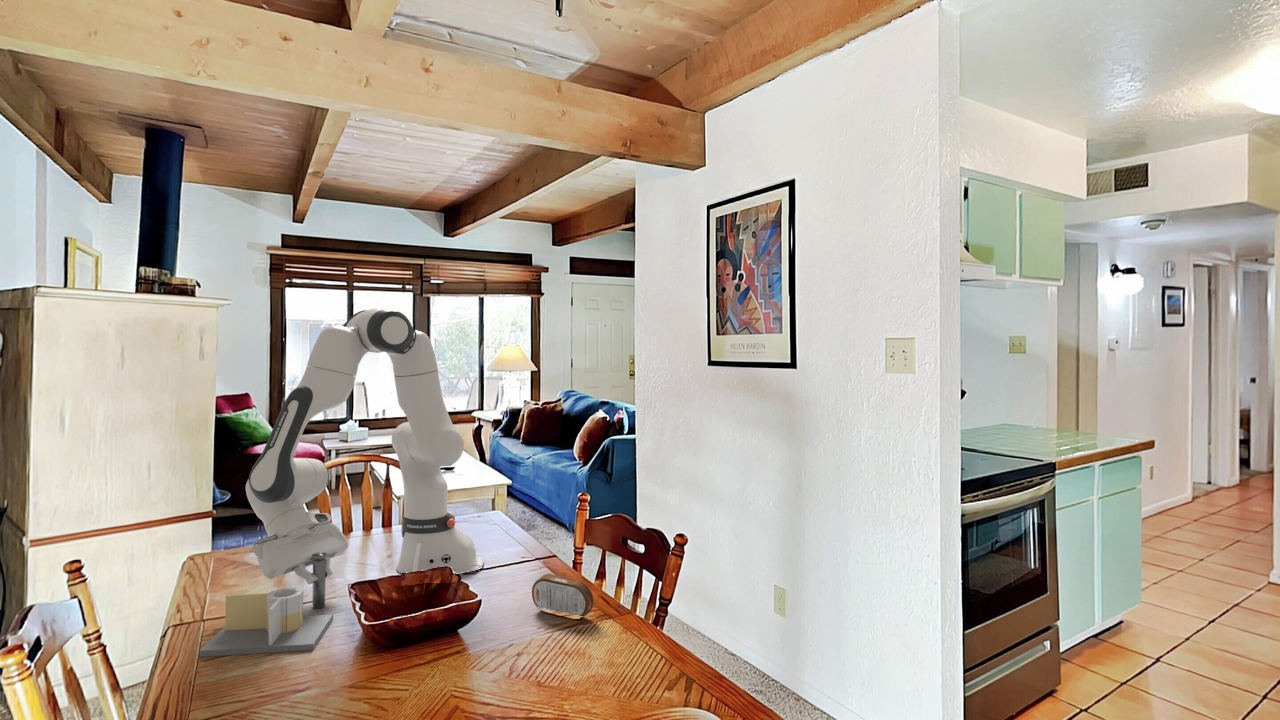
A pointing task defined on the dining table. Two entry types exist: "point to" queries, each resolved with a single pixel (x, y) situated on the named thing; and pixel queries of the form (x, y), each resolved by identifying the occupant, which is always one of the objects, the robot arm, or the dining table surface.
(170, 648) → the dining table surface
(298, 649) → the hinge
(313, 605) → the hinge pin
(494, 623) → the dining table surface
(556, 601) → the tin
